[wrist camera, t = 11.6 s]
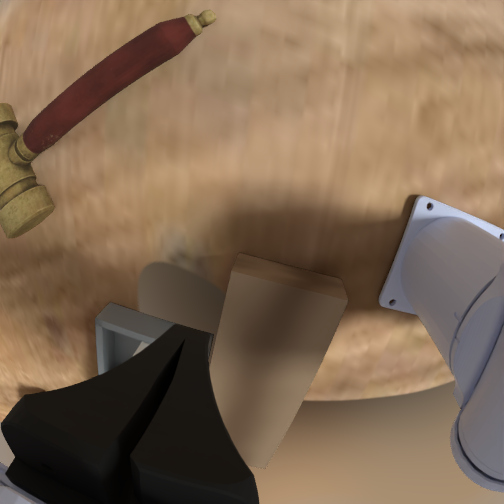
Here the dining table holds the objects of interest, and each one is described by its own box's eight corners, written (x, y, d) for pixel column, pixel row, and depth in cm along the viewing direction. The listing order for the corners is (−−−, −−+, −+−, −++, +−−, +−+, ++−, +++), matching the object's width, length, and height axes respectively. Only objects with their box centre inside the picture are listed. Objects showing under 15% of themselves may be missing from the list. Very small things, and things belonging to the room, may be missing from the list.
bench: (341, 279, 21) (348, 300, 18) (267, 445, 28) (265, 469, 25) (238, 252, 21) (231, 270, 18) (197, 429, 28) (190, 452, 25)
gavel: (173, -51, 12) (252, 67, 15) (189, -21, 16) (254, 83, 19) (-44, 138, 16) (-2, 246, 18) (-9, 135, 20) (33, 230, 23)
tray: (213, 334, 24) (206, 354, 21) (192, 433, 28) (187, 452, 26) (110, 302, 24) (95, 317, 21) (113, 406, 28) (104, 423, 26)
